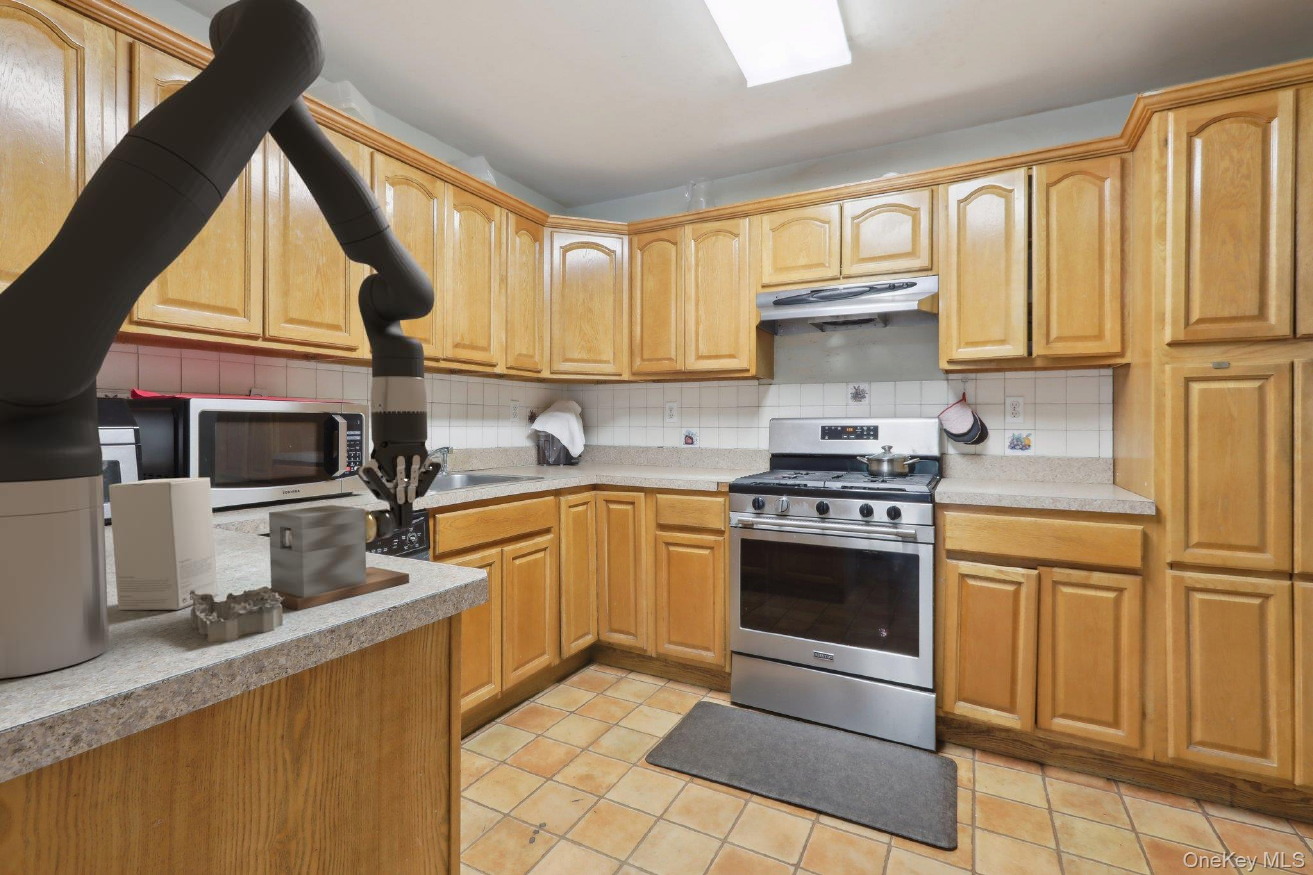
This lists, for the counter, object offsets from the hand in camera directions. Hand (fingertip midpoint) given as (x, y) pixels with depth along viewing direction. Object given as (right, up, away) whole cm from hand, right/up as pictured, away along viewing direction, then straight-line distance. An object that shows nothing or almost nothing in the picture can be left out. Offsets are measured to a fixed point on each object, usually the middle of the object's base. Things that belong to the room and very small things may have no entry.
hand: (401, 528), depth 90 cm
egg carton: (-9, -8, -22) cm, 25 cm away
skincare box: (-24, -8, -13) cm, 28 cm away
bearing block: (-5, -7, -8) cm, 12 cm away
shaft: (-5, -1, -8) cm, 9 cm away
